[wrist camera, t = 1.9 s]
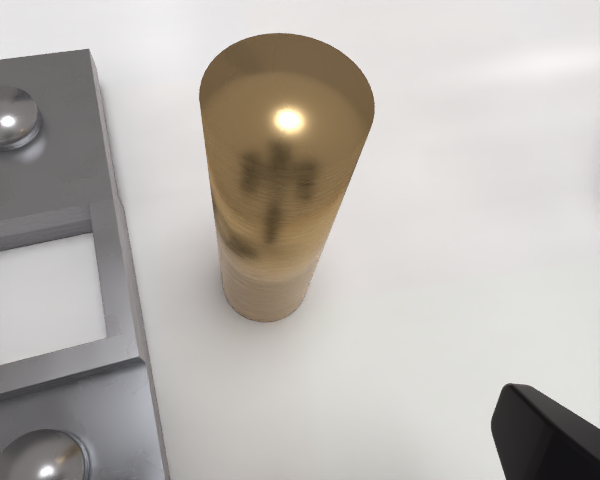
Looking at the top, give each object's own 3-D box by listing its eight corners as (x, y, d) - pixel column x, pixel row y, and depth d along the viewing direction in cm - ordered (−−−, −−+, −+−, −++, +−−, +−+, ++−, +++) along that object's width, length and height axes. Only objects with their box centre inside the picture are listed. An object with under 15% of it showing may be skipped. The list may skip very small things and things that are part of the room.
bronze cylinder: (294, 332, 21) (354, 193, 9) (210, 307, 21) (170, 138, 10) (316, 255, 22) (388, 60, 11) (238, 232, 23) (233, 15, 11)
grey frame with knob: (177, 523, 17) (163, 539, 14) (-60, 607, 15) (-133, 644, 12) (102, 84, 25) (83, 35, 22) (-58, 106, 24) (-102, 57, 21)
